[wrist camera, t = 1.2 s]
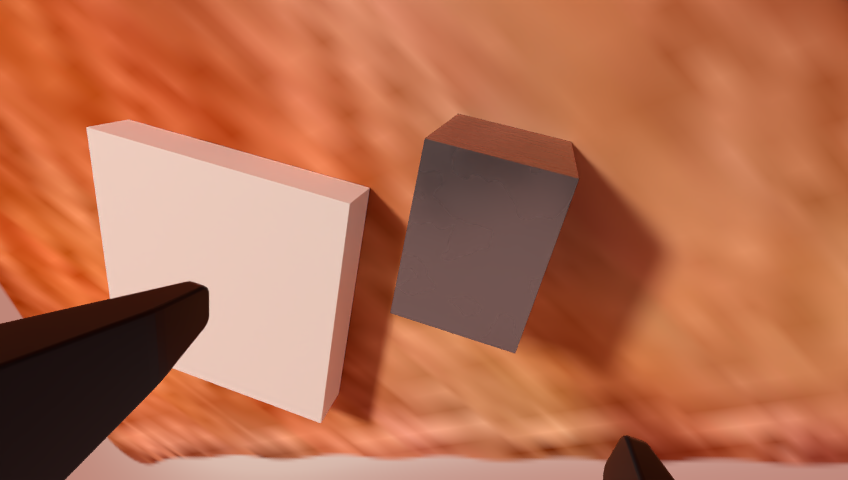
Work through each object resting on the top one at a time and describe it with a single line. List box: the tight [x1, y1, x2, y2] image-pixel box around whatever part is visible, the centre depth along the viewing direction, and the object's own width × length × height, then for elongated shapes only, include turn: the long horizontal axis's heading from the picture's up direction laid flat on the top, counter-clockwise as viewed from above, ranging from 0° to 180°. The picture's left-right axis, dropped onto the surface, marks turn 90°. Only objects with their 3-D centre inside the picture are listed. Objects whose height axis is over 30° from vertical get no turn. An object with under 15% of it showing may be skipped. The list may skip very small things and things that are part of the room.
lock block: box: [391, 114, 579, 353], centre depth 18 cm, size 5×7×6 cm
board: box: [87, 120, 370, 423], centre depth 25 cm, size 14×14×2 cm
